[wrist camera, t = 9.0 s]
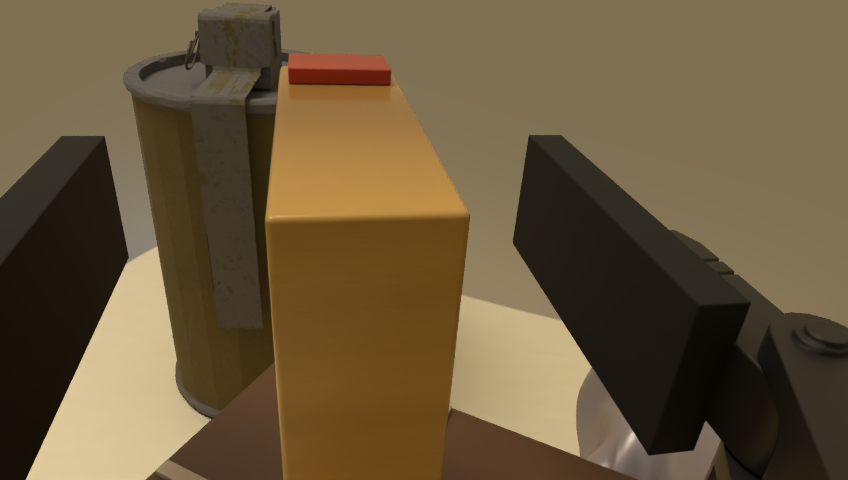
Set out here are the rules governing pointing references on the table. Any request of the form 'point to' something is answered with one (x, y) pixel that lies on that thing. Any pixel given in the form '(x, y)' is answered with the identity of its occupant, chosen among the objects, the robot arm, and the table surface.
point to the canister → (213, 194)
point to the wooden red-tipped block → (360, 275)
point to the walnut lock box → (462, 463)
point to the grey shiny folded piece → (633, 441)
